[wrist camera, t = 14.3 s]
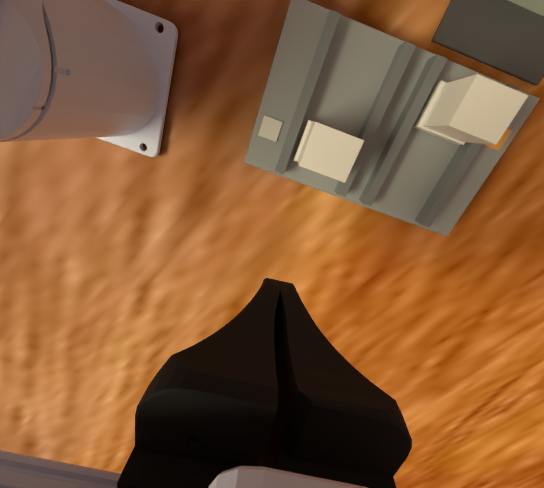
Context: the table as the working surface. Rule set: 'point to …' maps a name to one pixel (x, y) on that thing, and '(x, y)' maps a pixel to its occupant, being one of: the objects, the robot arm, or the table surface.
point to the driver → (531, 5)
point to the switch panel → (370, 118)
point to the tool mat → (496, 36)
